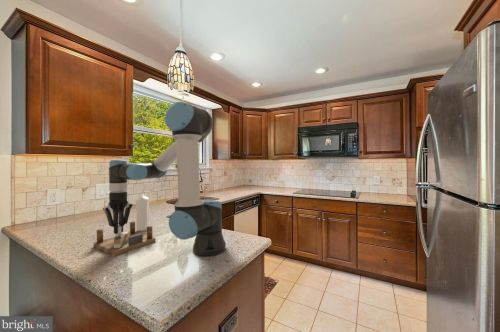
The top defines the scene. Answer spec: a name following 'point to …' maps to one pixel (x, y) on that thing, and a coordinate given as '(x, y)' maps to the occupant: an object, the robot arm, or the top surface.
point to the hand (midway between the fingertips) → (118, 239)
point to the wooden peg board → (132, 243)
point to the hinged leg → (121, 239)
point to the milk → (142, 213)
